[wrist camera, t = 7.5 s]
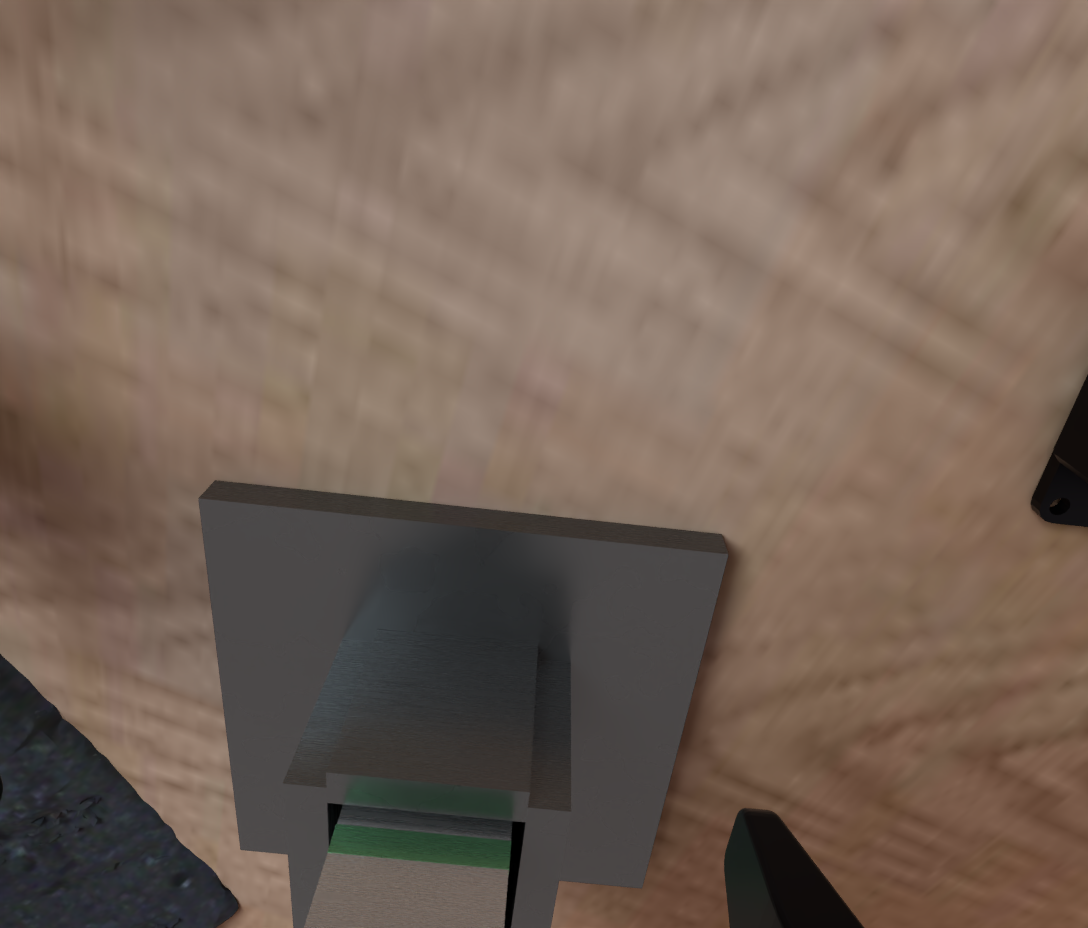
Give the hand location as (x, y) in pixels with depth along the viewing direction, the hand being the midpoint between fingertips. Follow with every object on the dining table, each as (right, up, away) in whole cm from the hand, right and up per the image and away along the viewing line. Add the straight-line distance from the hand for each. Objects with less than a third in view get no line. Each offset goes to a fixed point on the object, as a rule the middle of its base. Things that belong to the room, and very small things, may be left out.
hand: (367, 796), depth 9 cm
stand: (-1, -3, +15) cm, 15 cm away
